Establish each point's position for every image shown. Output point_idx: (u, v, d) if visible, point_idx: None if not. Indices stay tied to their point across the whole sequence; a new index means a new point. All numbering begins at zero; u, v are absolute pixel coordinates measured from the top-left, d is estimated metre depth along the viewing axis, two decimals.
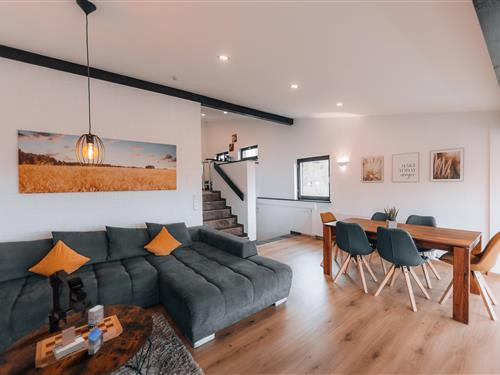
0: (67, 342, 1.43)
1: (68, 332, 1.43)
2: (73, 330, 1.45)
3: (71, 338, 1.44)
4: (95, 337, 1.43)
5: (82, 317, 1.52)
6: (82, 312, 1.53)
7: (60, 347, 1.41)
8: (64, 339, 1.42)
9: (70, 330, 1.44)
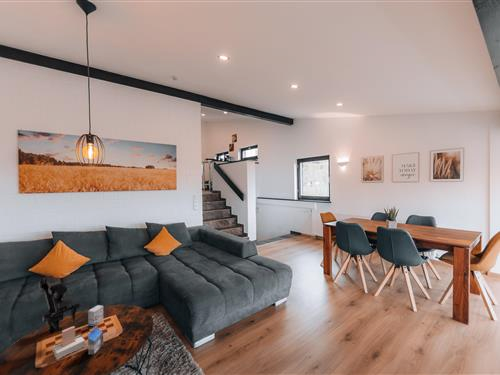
0: (67, 342, 1.43)
1: (68, 332, 1.43)
2: (73, 330, 1.45)
3: (71, 338, 1.45)
4: (95, 337, 1.43)
5: (73, 320, 1.51)
6: (72, 315, 1.53)
7: (60, 347, 1.41)
8: (64, 339, 1.42)
9: (70, 330, 1.44)
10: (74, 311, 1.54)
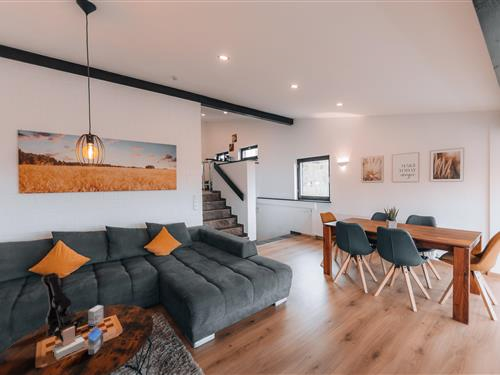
0: (67, 342, 1.43)
1: (68, 332, 1.43)
2: (73, 330, 1.45)
3: (71, 338, 1.45)
4: (95, 337, 1.43)
5: (75, 335, 1.46)
6: None
7: (60, 347, 1.41)
8: (64, 339, 1.42)
9: (70, 330, 1.44)
10: (76, 326, 1.48)
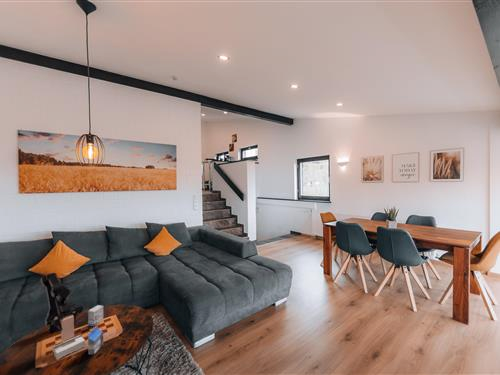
0: (65, 331, 1.44)
1: (67, 321, 1.44)
2: (72, 319, 1.46)
3: (70, 327, 1.45)
4: (95, 337, 1.43)
5: (74, 324, 1.47)
6: None
7: (60, 347, 1.41)
8: (63, 328, 1.43)
9: (69, 319, 1.45)
10: (75, 315, 1.49)
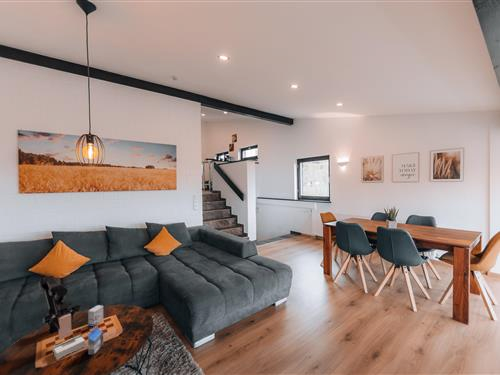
0: (63, 329, 1.47)
1: (64, 319, 1.47)
2: (69, 318, 1.49)
3: (67, 325, 1.49)
4: (95, 337, 1.43)
5: (71, 322, 1.50)
6: None
7: (60, 347, 1.41)
8: (60, 326, 1.46)
9: (66, 317, 1.48)
10: (72, 314, 1.52)
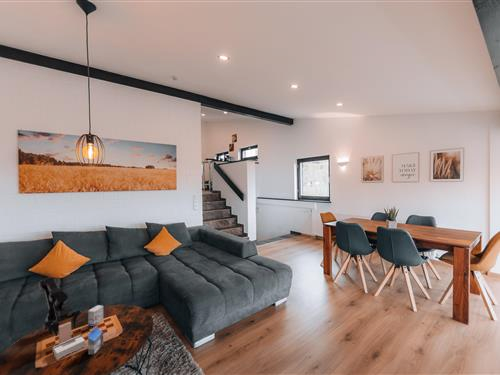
0: (63, 337, 1.47)
1: (65, 327, 1.48)
2: (69, 326, 1.50)
3: (67, 333, 1.49)
4: (95, 337, 1.43)
5: (74, 327, 1.51)
6: (73, 323, 1.53)
7: (60, 347, 1.41)
8: (60, 334, 1.46)
9: (66, 325, 1.48)
10: (74, 319, 1.53)
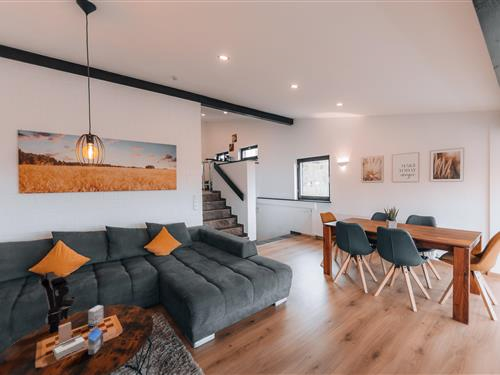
0: (63, 337, 1.47)
1: (65, 327, 1.48)
2: (69, 326, 1.49)
3: (67, 333, 1.49)
4: (95, 337, 1.43)
5: (66, 318, 1.56)
6: (65, 313, 1.57)
7: (60, 347, 1.41)
8: (61, 334, 1.46)
9: (66, 326, 1.48)
10: (68, 309, 1.59)
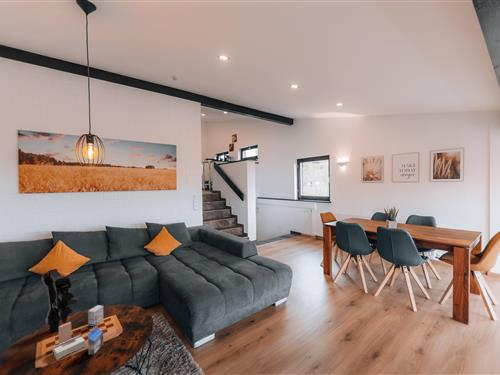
0: (63, 337, 1.47)
1: (65, 328, 1.47)
2: (69, 326, 1.49)
3: (67, 333, 1.49)
4: (95, 337, 1.43)
5: None
6: None
7: (60, 347, 1.41)
8: (61, 334, 1.46)
9: (66, 326, 1.48)
10: None
